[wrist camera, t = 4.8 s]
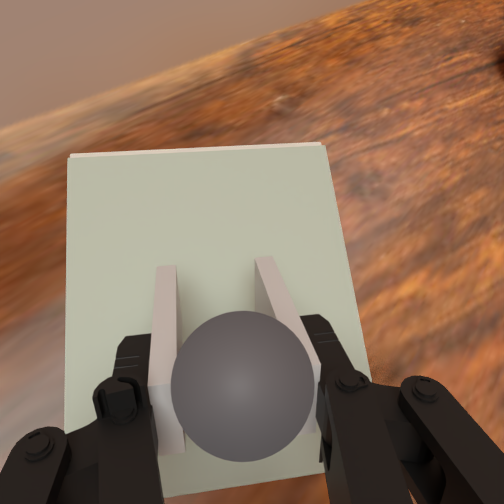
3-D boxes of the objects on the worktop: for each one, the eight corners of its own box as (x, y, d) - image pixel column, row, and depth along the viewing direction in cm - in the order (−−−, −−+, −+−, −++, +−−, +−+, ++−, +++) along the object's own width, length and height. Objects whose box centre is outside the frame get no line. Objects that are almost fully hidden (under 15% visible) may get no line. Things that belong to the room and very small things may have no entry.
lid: (69, 509, 17) (-123, 674, 7) (72, 165, 22) (-41, -26, 12) (380, 459, 19) (577, 536, 9) (321, 153, 24) (406, -23, 14)
